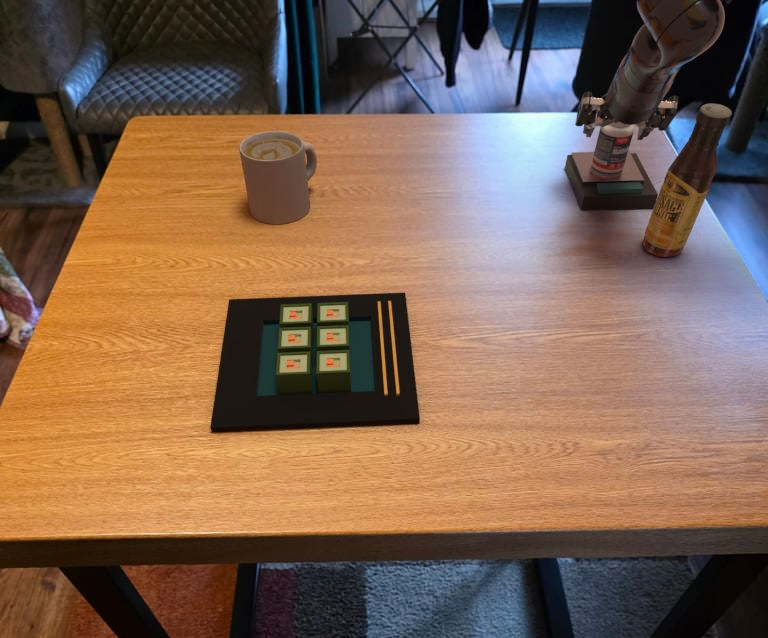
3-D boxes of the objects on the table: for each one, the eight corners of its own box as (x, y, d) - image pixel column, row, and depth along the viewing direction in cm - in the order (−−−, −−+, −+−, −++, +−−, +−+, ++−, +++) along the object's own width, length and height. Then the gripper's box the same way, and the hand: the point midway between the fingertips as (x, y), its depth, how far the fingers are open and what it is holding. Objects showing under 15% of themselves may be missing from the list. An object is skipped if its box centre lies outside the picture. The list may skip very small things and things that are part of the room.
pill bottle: (608, 177, 108) (623, 119, 101) (584, 164, 111) (598, 107, 103) (630, 167, 110) (646, 109, 103) (606, 155, 112) (621, 98, 105)
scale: (632, 167, 116) (637, 148, 114) (653, 208, 108) (659, 189, 105) (564, 168, 116) (568, 149, 113) (580, 210, 108) (585, 191, 105)
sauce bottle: (632, 242, 102) (677, 101, 86) (666, 233, 103) (717, 94, 87) (657, 264, 98) (709, 122, 82) (692, 255, 100) (750, 114, 84)
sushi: (419, 423, 79) (420, 401, 76) (211, 432, 79) (204, 410, 76) (405, 297, 94) (405, 274, 91) (230, 304, 94) (225, 281, 91)
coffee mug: (269, 231, 105) (259, 167, 97) (239, 205, 110) (227, 142, 102) (339, 204, 110) (334, 141, 102) (307, 180, 114) (301, 118, 106)
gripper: (699, 55, 90) (662, 110, 106) (592, 50, 91) (572, 105, 108) (690, 114, 91) (655, 159, 107) (585, 108, 93) (566, 154, 109)
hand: (614, 132), depth 107 cm, fingers open, 7 cm apart
